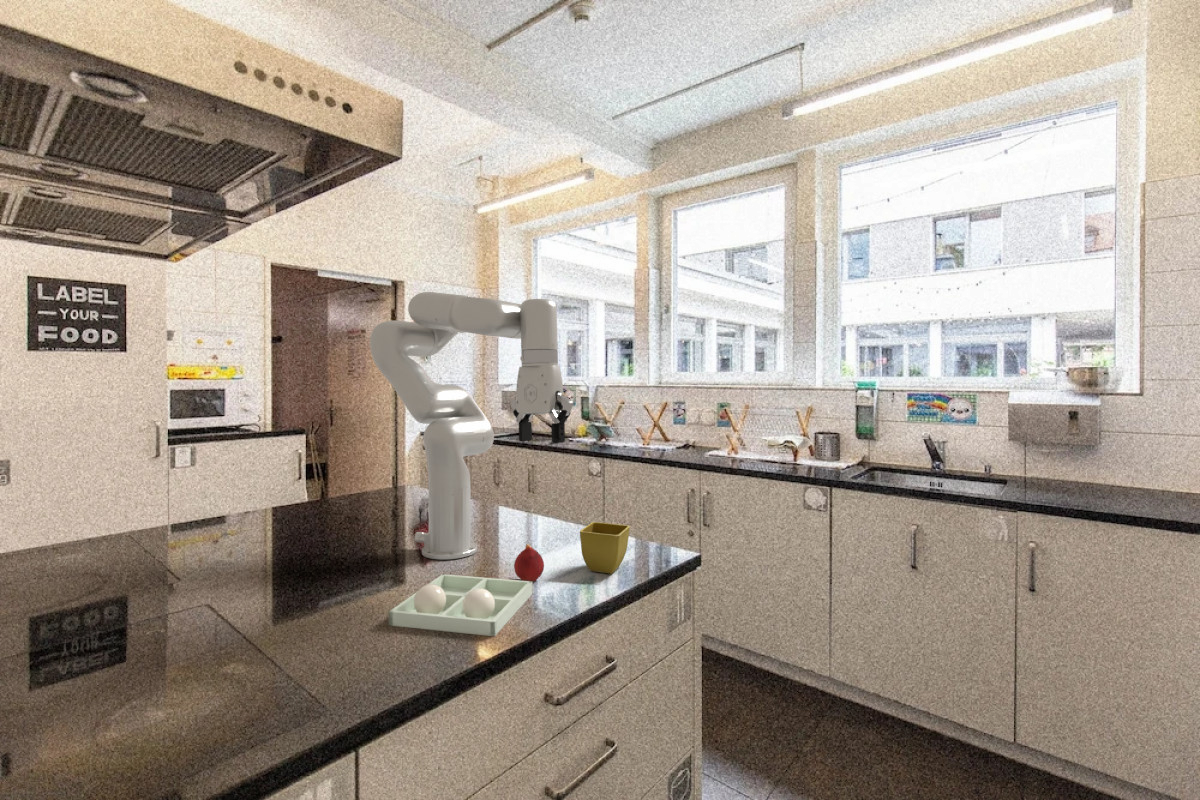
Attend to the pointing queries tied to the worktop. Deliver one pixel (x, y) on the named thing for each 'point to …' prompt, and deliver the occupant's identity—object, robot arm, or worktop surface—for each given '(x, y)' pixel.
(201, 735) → the worktop surface
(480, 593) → the egg near right
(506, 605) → the egg tray
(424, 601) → the egg near left
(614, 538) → the flower pot
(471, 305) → the robot arm
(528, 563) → the onion
